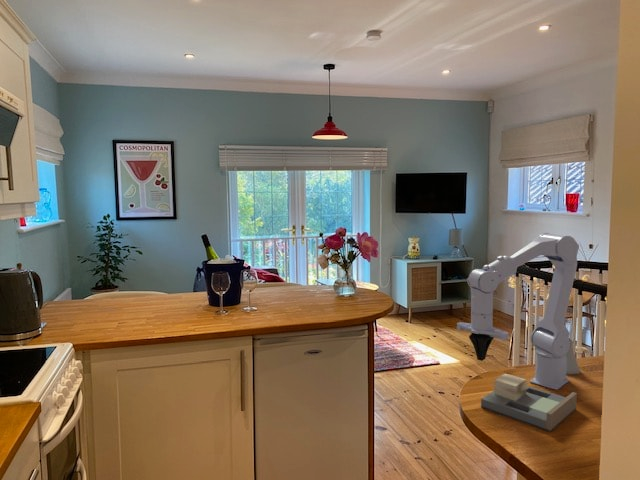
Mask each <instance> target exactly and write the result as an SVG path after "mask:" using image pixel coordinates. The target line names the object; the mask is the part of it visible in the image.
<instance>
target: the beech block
mask: <svg viewBox="0 0 640 480" xmlns="http://www.w3.org/2000/svg"><path fill="white" fill-rule="evenodd" d="M493 380H494V381H493V382H494V383H493V386H494V387H493V391H494V394H496V395H499V396H502V397H505V398H508V399H511V400H514V401H516V400H518V399H519V398H521V397H522V396H523V395H525V394H526V386H527V379H526V378H522V377H520V376H515V375H512V374H507V373H504V374H502V375H500V376H498V377H497V378H495V379H493Z"/></svg>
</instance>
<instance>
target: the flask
mask: <svg viewBox="0 0 640 480" xmlns="http://www.w3.org/2000/svg"><path fill="white" fill-rule="evenodd" d="M574 342H575V340H574V339H573V338H569V343H570V347H569V350H568V352H567V353H566V354H565V356H566V359H567V370H566V375H580V373H581V369H580V366H579V364H578V363H579V362H578V361H577V358H576V355H575V352H574V347H573V346H574Z"/></svg>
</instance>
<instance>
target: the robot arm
mask: <svg viewBox="0 0 640 480" xmlns="http://www.w3.org/2000/svg"><path fill="white" fill-rule="evenodd" d="M579 247H580V245H579V244H578V243H577V241H576V239H575V238H574V237H572V236H570V235H561V234H553V233H550V232H549V233H548V232H544V233H542V234H539V236H535V237H534V239H533V240H532V241H531V242H530V243H528V244H527V245H525V246H524V247H522V248H521V249H519V250H518V251H517V252H515V253H514V254H512V255H511V256H508V255H499V256H497V257H496V259H494V261H492V262H491V263H488V264H485V265H483V267H482V268H475V269H473V270H472V271H471V272H470V273H469V276H468V277H467V278H466V281H467V284H468V287H469V288H470V294H471V295H470V296H471V297H470V302H471V303H470V322H469V323H468V322H463V321H459V322H457V323H456V331H464V332H468V333H469V332H470V334H469V337H468V338H469V340H470V341H471V342H470V343H471V344H472V346H473V348H474V351H475V354H476V355H475V356H476V358H477V360H478V361H480V362H481V361H484V360H486V356H487V353H488V351H489V348H490V345H491V343H492V341H493V340H494V338H495V339H498V340H501V341H503V342H504V341H508V340H509V332H507V331H504V330H501V329H499V328H497V327H493V324H494V322H493V321H494V320H493V319H494V317H493V315H494V314H493V313H494V292H495V291H496V289H497V287H498V286H499V284H500V283H501V282H503V281H505V280H506V279H508V278H510V277H511V276H513V275H515V274H516V273H517V269H518V267H520V266H522V265H524V264H526V263H528V262H530V261H532V260H534V259H536V258H537V257H540V256H544V257H545V258H546V259H547V260H549V261H550V262H551V264H552V265H553V266H554V270H553V274H552V280H551V283H550V288H549V293H548V296H547V297H548V298H547V302H546V307H545V310H544V314H543V315H544V316H543V318H542V319H541V320H539V321H537V322H536V324H535V328H534V329H533V331H532V332H531V334H530V337H529V339H530V343H531V345H532V346H533V347H534V351H535V373H534V377H533V378H531V379H530V380H529V383H531V384H534V385H538V386H542V387H545V388H548V389H552V390H556V391H557V390H559V389H560V388H562V387H564V385H565V384H567V383H568V382H569V381H571V379H570V378H567V374H566V370H567V359H566V356H565V354H566V353H567V352H568V350H569V347H570V343H569V339H570V334H571V333H570V331H569V329H568V328H567V326H566V325H565V320H566V316H567V311H568V307H569V303H570V300H571V299H570V298H571V296H572V295H571V294H572V289H573V287H574V286H573V285H574V281H575V277H576V272H577V268H578V257H577V256H578V253H579Z"/></svg>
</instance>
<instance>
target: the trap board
mask: <svg viewBox="0 0 640 480" xmlns="http://www.w3.org/2000/svg"><path fill="white" fill-rule="evenodd" d="M577 395H578V394H577V392H574V391H572V392H571V393H569V394H568V395H567V396H563V395H559V394H556V393H552V392H549V391H545V390H542V389H539V388H536V387H532V386H529V385H526V394H525V395H523V396H522V397H521V398H519V399H518V400H516V401H514V400H511V399H508V398H505V397H502V396H499V395H496V394H494V390H493V391H491V392H490V393H488V394H486V395H484V396H483V397H481V399H480V401H481V402H480V408H481V409H484V410H487V411H489V412H492V413H496V414H497V415H501V416H504V417H506V418H510V419H512V420H514V421H517V422H521V423H523V424H525V425H529V426H531V427H535V428H537V429H540V430H543V431H545V432H549V433H551V432H553V431H554V430H555V429H556V428H557V427H558V426H559V425H561V424H562V422H564V421H565V420H566V419H567V418H569V417H570V416H571V415H572V414H573V413H574V412H576V410H577V401H578V400H577V397H578V396H577Z"/></svg>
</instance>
